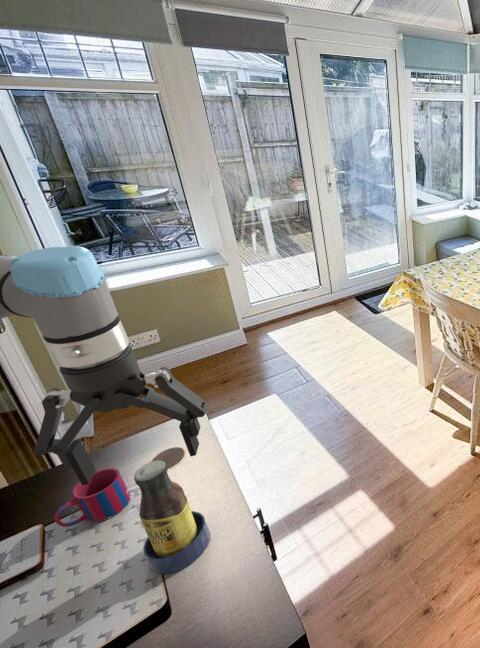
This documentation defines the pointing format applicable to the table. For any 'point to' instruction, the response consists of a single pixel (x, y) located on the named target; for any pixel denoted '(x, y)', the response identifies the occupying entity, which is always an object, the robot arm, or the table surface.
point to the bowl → (182, 557)
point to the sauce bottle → (164, 510)
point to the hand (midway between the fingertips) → (144, 463)
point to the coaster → (170, 456)
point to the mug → (98, 497)
